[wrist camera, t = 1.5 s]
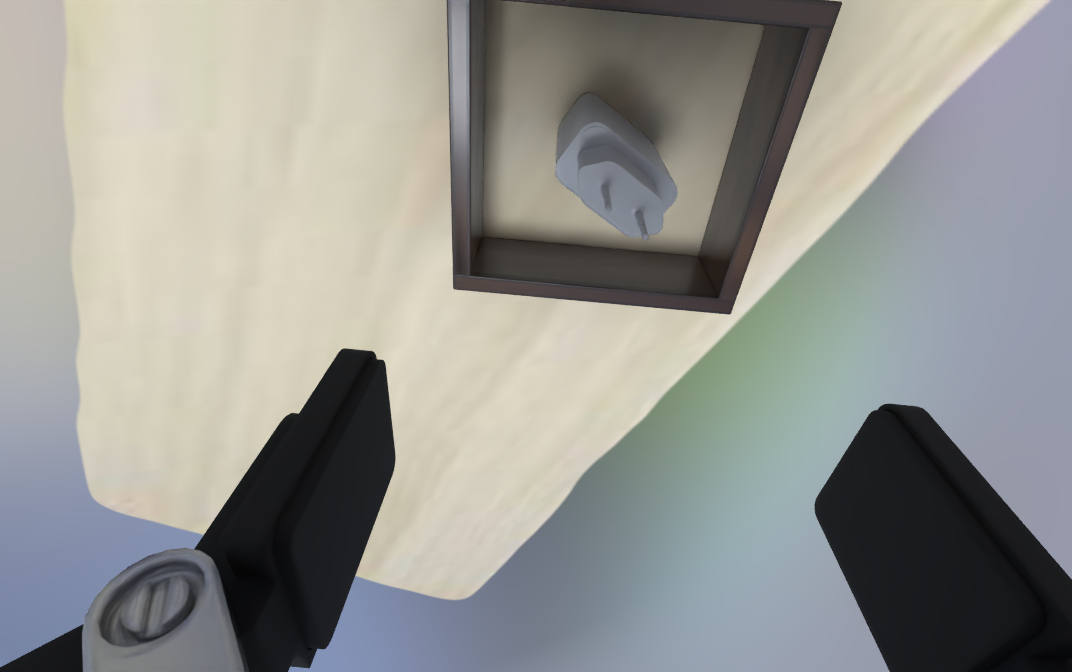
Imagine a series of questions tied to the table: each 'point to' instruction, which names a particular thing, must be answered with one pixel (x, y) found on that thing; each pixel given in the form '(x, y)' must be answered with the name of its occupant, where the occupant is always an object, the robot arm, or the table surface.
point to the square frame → (743, 194)
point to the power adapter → (613, 168)
